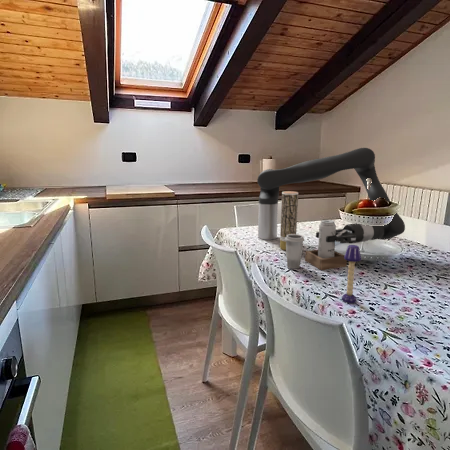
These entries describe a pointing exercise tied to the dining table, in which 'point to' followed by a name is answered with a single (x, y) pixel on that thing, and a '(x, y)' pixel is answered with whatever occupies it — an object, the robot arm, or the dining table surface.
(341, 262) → the wooden tray
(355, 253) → the toy lamp
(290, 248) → the cup
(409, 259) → the dining table surface
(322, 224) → the energy drink can
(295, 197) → the bark patterned cylinder
